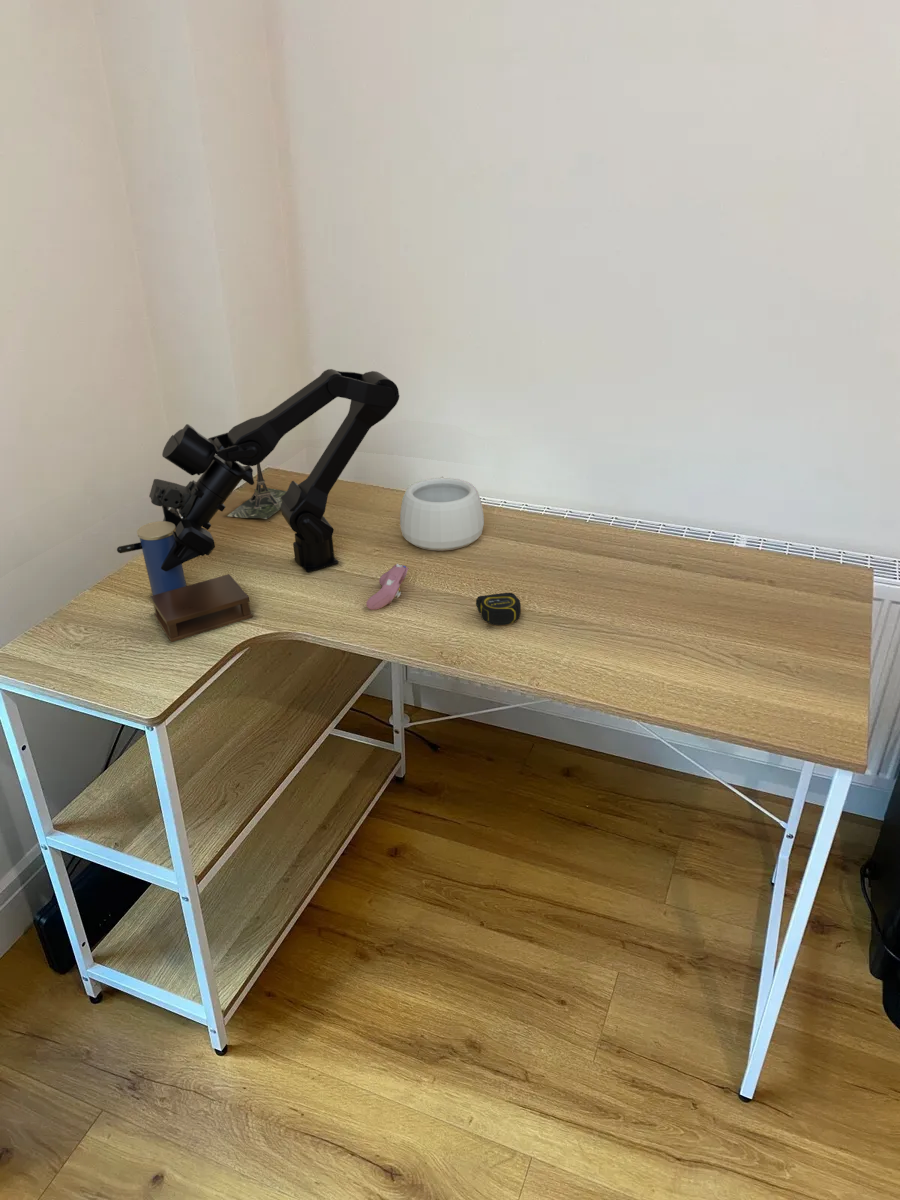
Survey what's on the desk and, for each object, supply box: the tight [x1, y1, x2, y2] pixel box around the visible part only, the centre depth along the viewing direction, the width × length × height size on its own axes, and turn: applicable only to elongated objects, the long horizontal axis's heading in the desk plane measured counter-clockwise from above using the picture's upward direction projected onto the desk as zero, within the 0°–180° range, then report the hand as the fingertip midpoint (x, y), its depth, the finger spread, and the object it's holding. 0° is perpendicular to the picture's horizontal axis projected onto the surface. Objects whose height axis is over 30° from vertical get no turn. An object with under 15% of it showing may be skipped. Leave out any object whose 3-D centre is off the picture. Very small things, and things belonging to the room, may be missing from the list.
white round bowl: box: [399, 476, 485, 552], centre depth 172 cm, size 21×17×10 cm
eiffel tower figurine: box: [227, 463, 287, 520], centre depth 184 cm, size 15×10×13 cm
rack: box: [149, 573, 253, 643], centre depth 146 cm, size 14×10×4 cm
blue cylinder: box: [116, 520, 187, 596], centre depth 150 cm, size 10×6×13 cm, turn 115°
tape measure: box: [475, 592, 522, 626], centre depth 143 cm, size 7×7×4 cm
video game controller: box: [365, 563, 409, 611], centre depth 150 cm, size 10×5×7 cm, turn 168°
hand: (159, 558), depth 150 cm, fingers open, 9 cm apart
